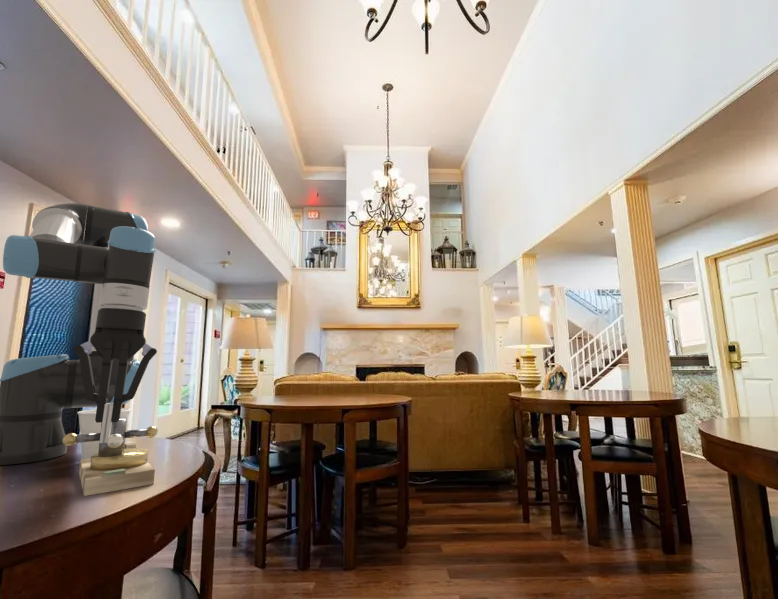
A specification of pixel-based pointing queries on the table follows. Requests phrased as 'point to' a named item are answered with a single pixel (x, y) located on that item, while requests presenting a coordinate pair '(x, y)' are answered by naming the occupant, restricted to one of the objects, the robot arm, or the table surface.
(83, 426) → the cup
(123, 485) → the stand
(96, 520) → the table surface
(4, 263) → the robot arm
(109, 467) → the capstan
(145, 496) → the table surface
